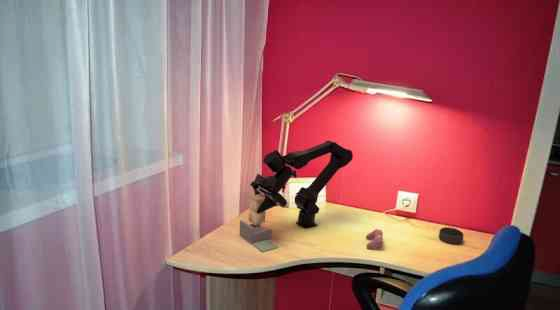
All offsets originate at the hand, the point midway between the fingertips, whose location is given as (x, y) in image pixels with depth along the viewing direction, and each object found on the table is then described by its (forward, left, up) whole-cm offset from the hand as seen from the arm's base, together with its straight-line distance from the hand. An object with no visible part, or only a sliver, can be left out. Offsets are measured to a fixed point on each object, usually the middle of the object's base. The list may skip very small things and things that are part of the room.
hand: (254, 210), depth 150 cm
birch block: (-1, 0, -5) cm, 5 cm away
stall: (-1, 0, -11) cm, 11 cm away
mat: (0, +9, -11) cm, 14 cm away
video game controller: (-37, +28, -11) cm, 48 cm away
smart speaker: (-68, +41, -11) cm, 80 cm away
